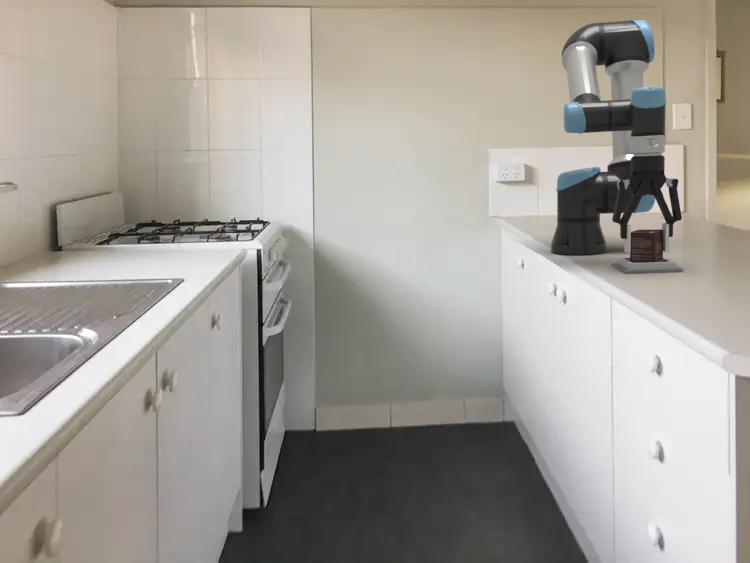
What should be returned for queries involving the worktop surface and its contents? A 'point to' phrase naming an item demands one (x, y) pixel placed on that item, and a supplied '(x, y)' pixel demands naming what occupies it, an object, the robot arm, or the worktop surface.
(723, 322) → the worktop surface
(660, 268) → the grey and white frame
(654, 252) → the box
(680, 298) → the worktop surface
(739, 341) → the worktop surface
